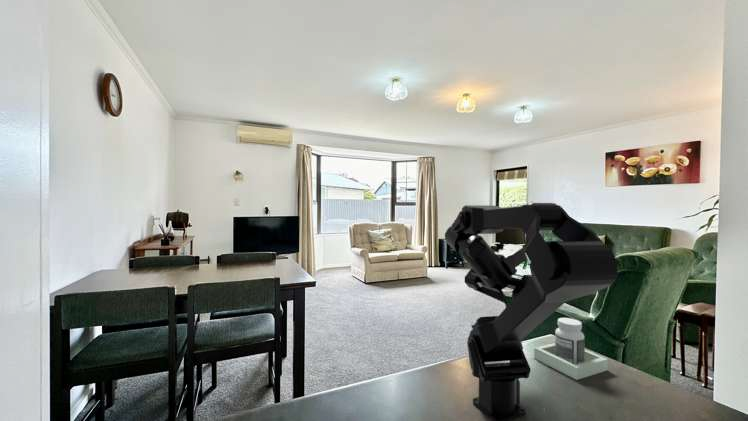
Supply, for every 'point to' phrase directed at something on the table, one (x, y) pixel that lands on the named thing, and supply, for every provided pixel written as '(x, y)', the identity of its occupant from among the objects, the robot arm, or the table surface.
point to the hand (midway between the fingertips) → (521, 306)
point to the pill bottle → (570, 341)
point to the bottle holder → (579, 371)
